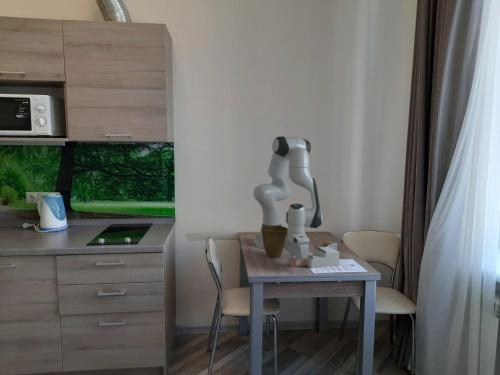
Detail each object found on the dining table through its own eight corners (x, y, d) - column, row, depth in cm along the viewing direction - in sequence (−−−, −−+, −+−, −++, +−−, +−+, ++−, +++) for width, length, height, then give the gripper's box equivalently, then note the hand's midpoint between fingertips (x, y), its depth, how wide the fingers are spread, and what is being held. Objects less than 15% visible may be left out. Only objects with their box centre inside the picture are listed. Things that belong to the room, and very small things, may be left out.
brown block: (290, 266, 171) (290, 257, 171) (312, 263, 175) (313, 255, 175) (291, 267, 170) (291, 258, 169) (314, 264, 174) (314, 256, 173)
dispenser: (301, 261, 179) (301, 246, 178) (327, 259, 184) (328, 244, 183) (311, 268, 168) (311, 252, 167) (339, 265, 173) (339, 249, 172)
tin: (333, 252, 196) (334, 238, 195) (338, 253, 194) (339, 239, 193) (320, 258, 185) (320, 243, 184) (325, 259, 183) (325, 244, 182)
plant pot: (265, 261, 179) (266, 231, 177) (257, 253, 193) (257, 226, 192) (291, 259, 183) (292, 230, 182) (281, 251, 197) (282, 224, 196)
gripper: (281, 232, 179) (281, 257, 180) (299, 241, 159) (298, 269, 161) (292, 231, 181) (292, 256, 182) (311, 240, 161) (310, 268, 163)
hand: (295, 262), depth 171 cm, fingers closed on brown block, 2 cm apart
